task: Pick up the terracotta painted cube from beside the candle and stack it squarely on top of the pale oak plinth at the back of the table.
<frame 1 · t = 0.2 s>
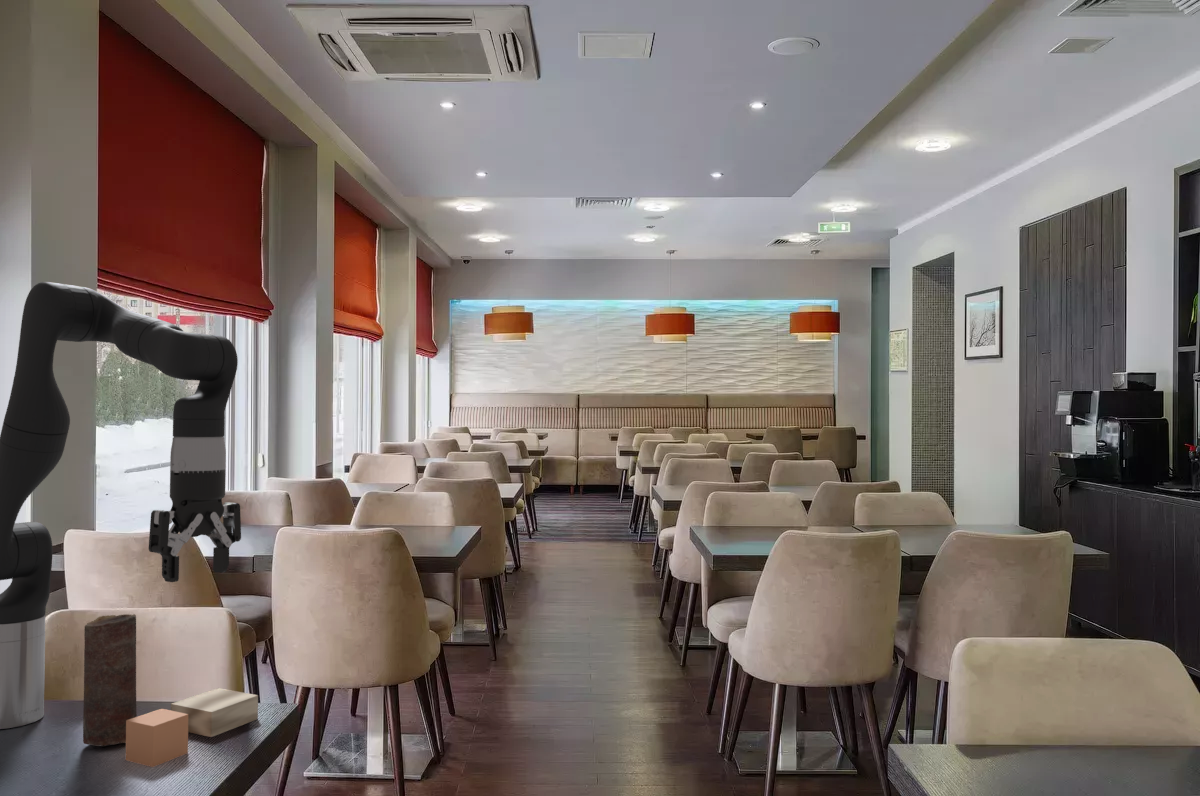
hand: (196, 576, 130), 28 cm above the table, fingers open, 8 cm apart
terracotta cube: (157, 757, 133), on the table
oak plinth: (214, 723, 147), on the table
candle: (109, 745, 137), on the table
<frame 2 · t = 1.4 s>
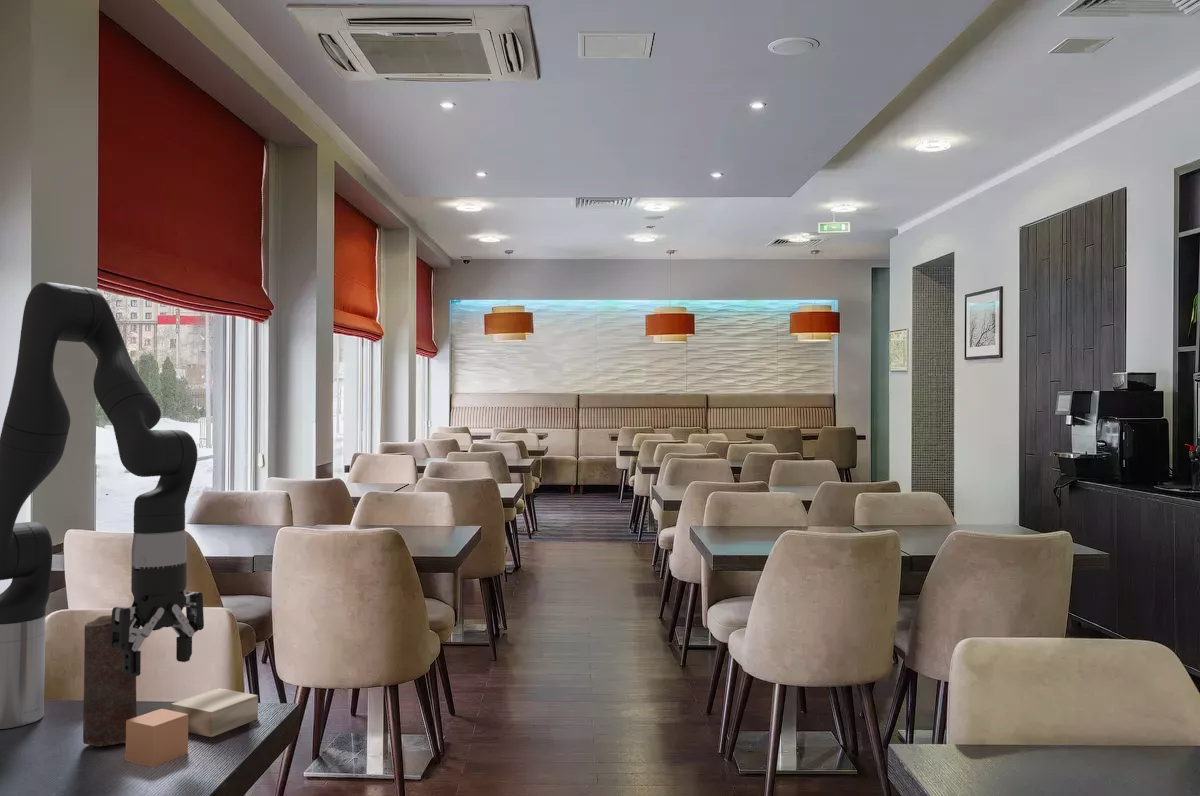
hand: (158, 668, 133), 13 cm above the table, fingers open, 8 cm apart
nothing on the table moved.
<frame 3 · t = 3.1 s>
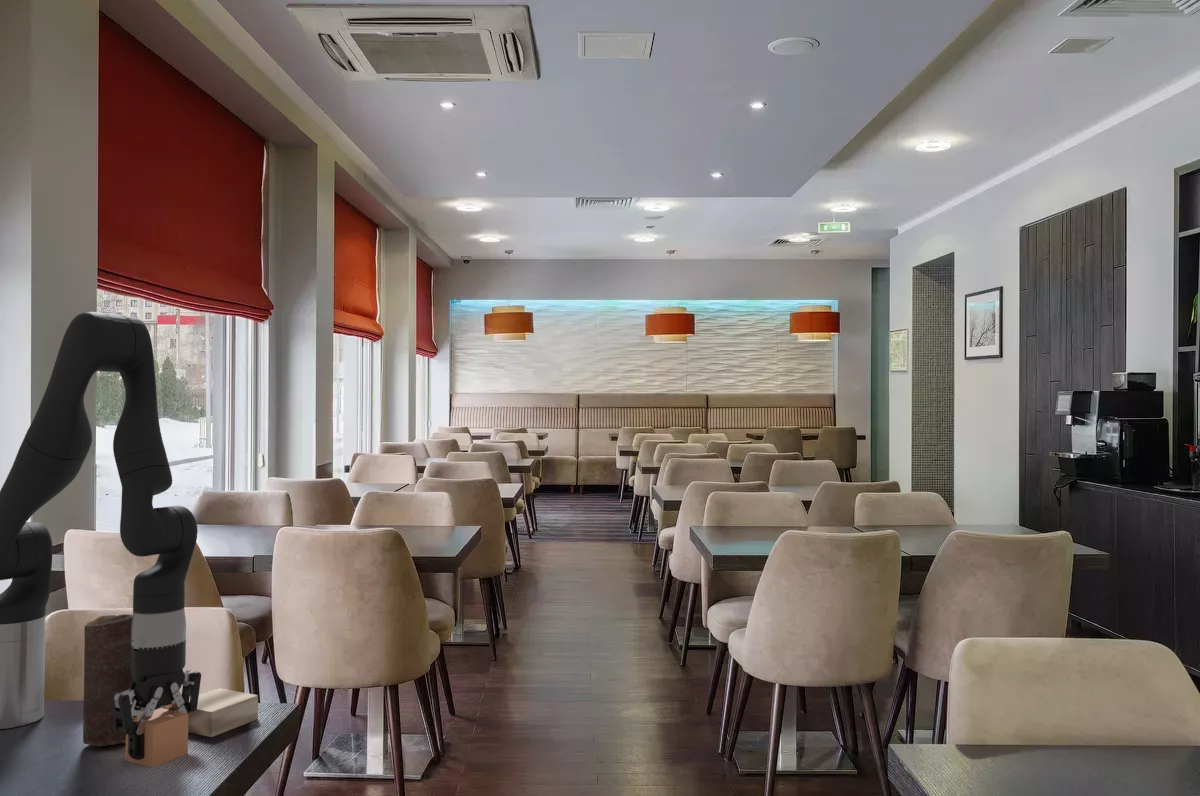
hand: (157, 750, 133), 1 cm above the table, fingers closed on terracotta cube, 6 cm apart
terracotta cube: (157, 756, 133), on the table, touching gripper
everything else where it was.
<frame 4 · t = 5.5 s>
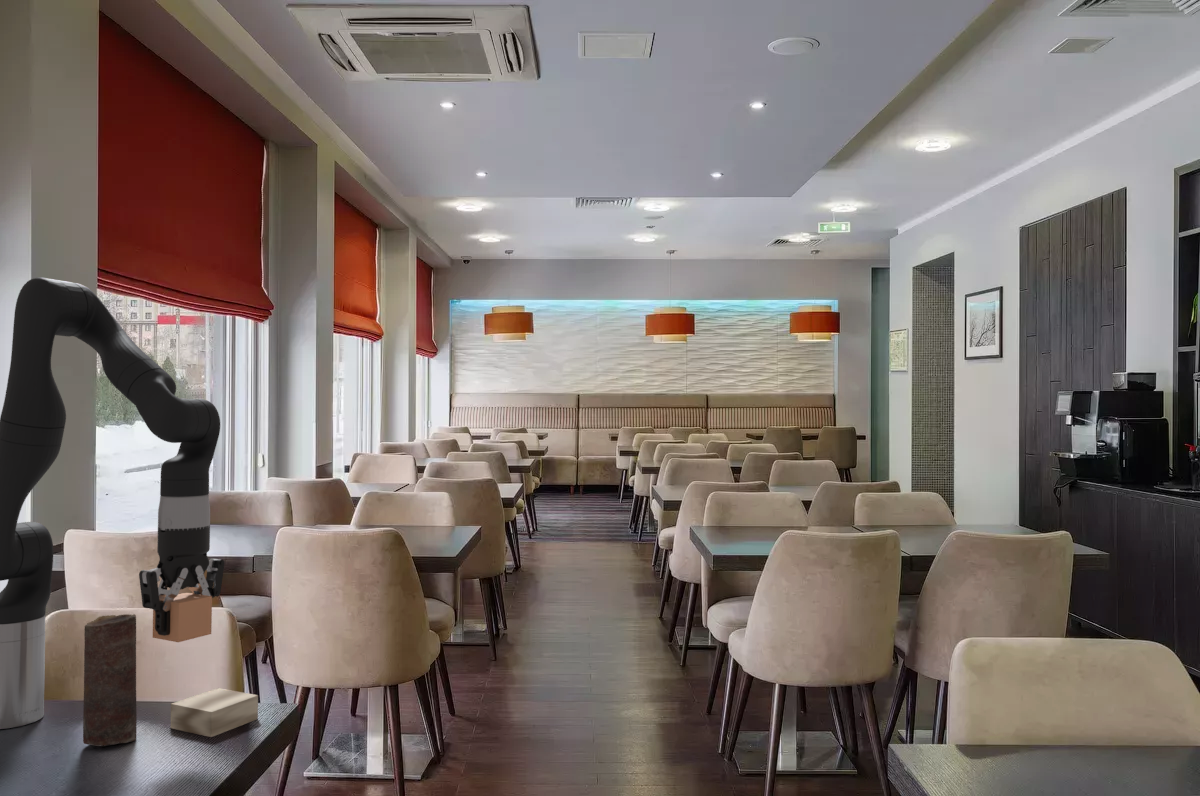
hand: (182, 629, 139), 18 cm above the table, fingers closed on terracotta cube, 6 cm apart
terracotta cube: (182, 635, 139), point 17 cm above the table, touching gripper
everything else where it was.
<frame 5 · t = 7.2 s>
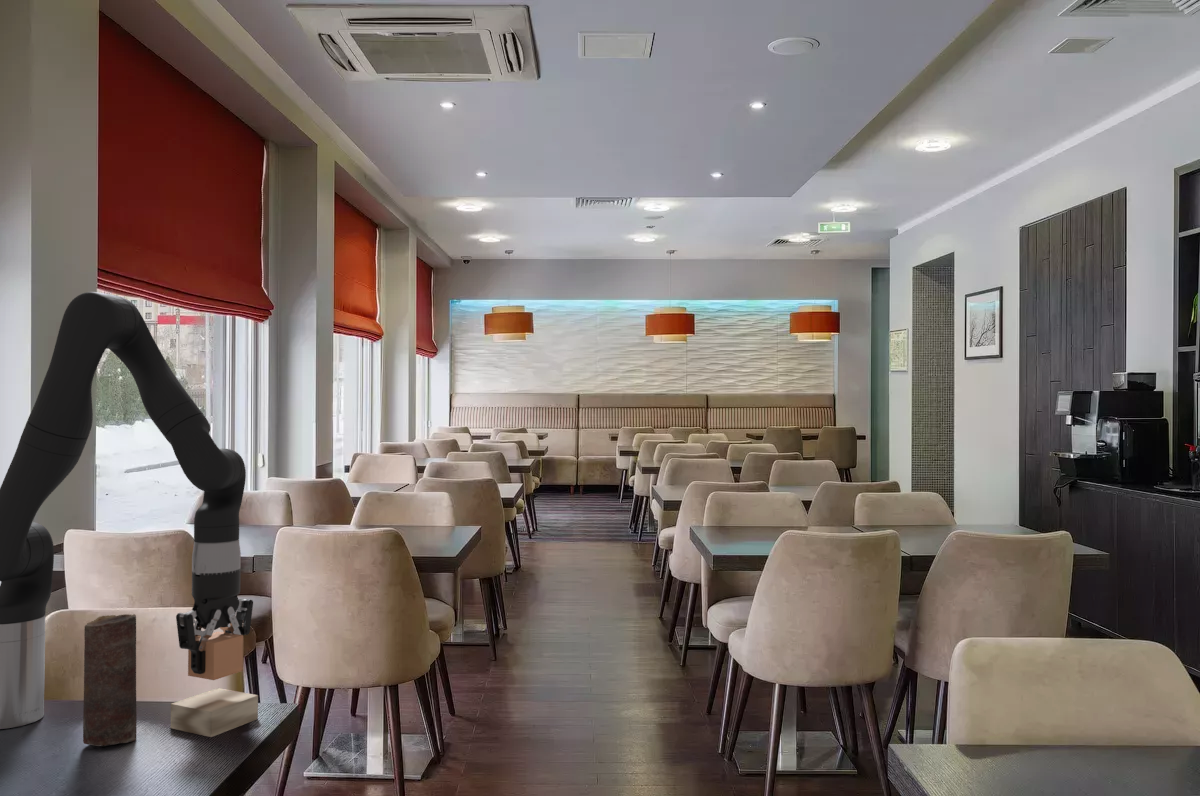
hand: (215, 667, 147), 9 cm above the table, fingers closed on terracotta cube, 6 cm apart
terracotta cube: (215, 673, 147), point 8 cm above the table, touching gripper
everything else where it was.
when the fingers open (6 cm above the table, at t = 8.4 s): terracotta cube stays where it is, resting on oak plinth.
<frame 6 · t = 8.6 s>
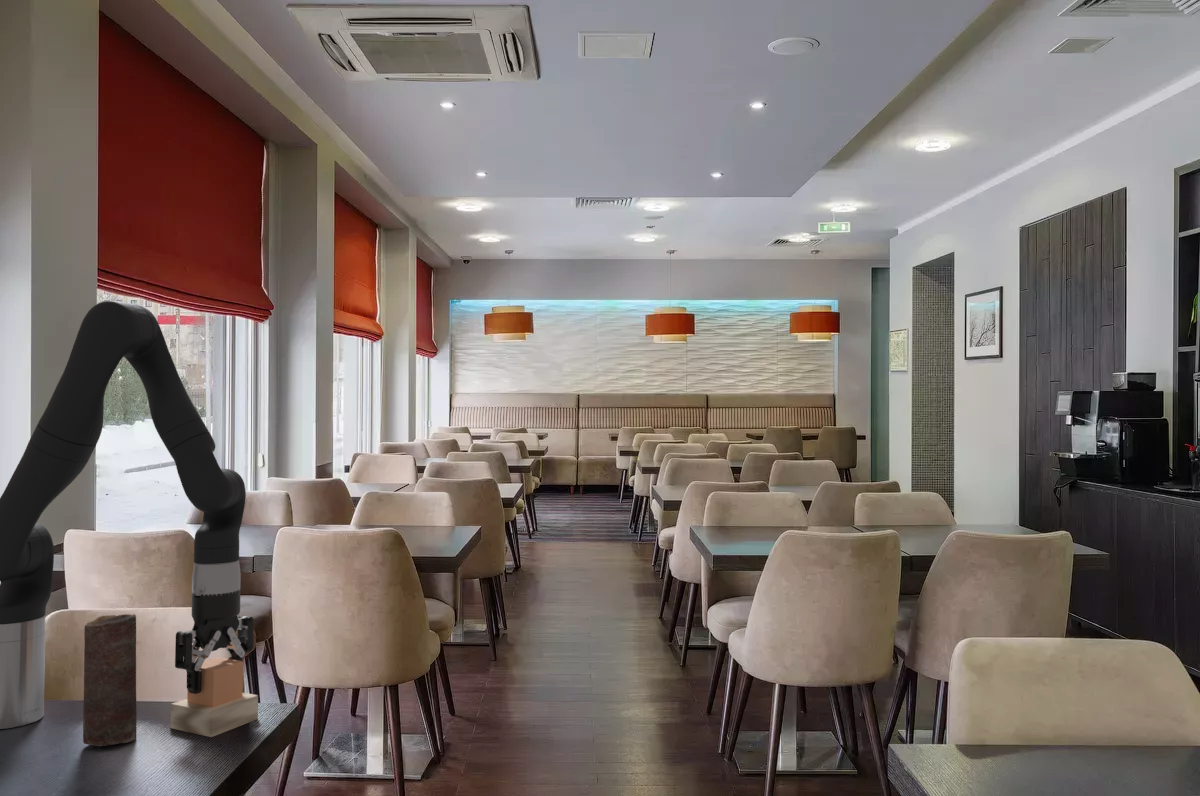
hand: (215, 685, 147), 6 cm above the table, fingers open, 7 cm apart
terracotta cube: (215, 699, 147), point 4 cm above the table, touching oak plinth
everything else where it was.
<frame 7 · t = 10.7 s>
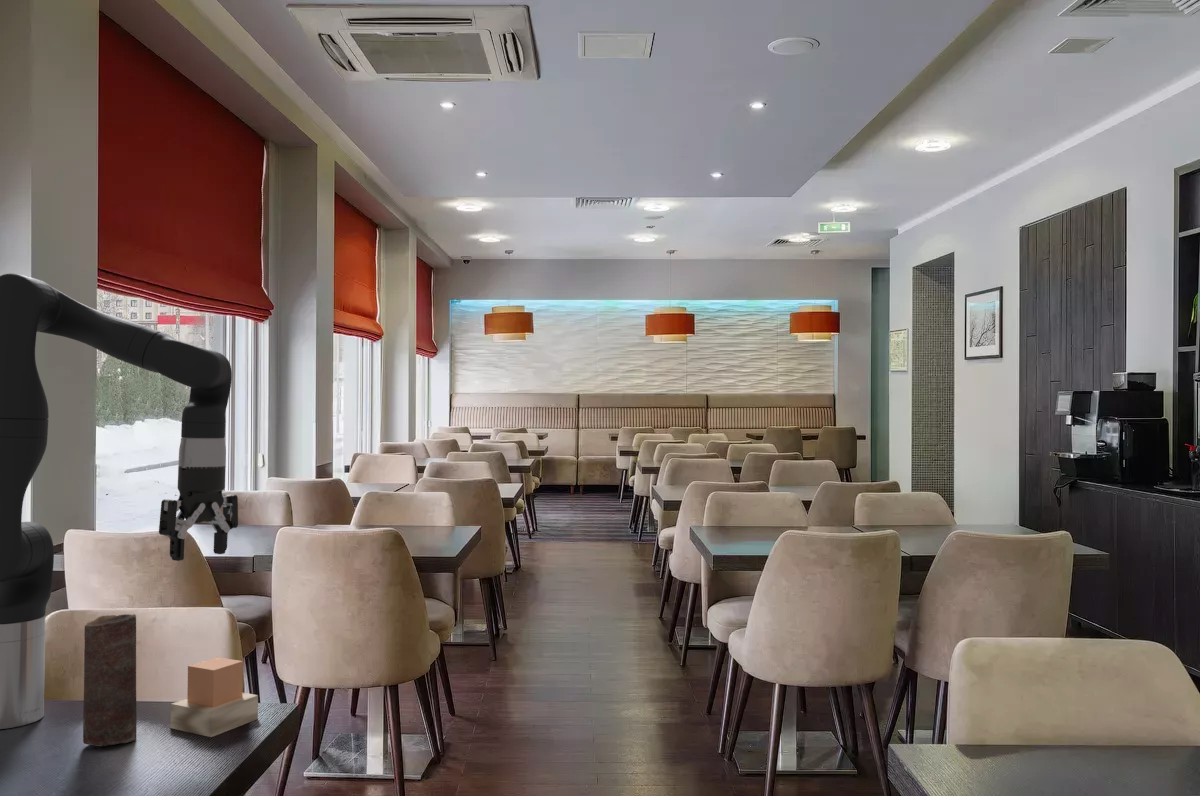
hand: (198, 556, 153), 27 cm above the table, fingers open, 8 cm apart
nothing on the table moved.
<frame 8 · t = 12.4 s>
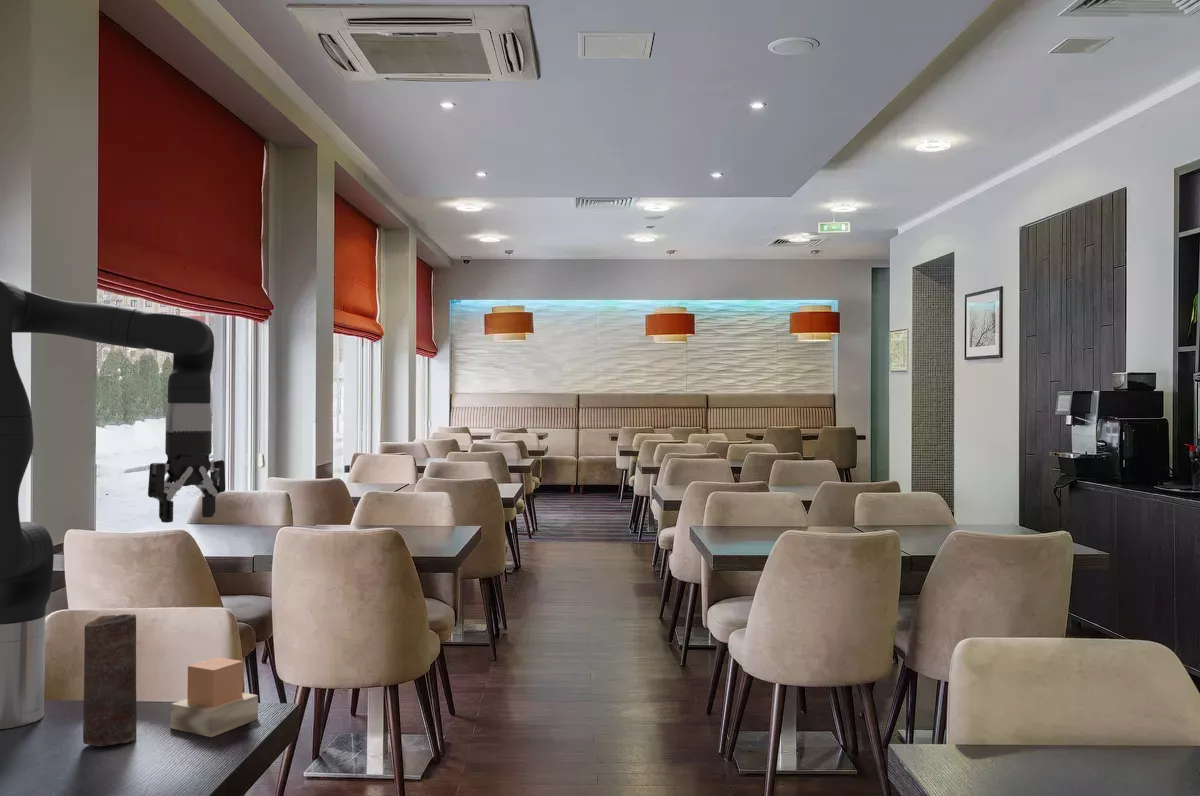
hand: (187, 519, 157), 33 cm above the table, fingers open, 8 cm apart
nothing on the table moved.
at the end: terracotta cube 0.0 cm off-centre on the oak plinth, point 4.0 cm above the oak plinth's base; terracotta cube tilted 0°; the gripper is holding nothing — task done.
